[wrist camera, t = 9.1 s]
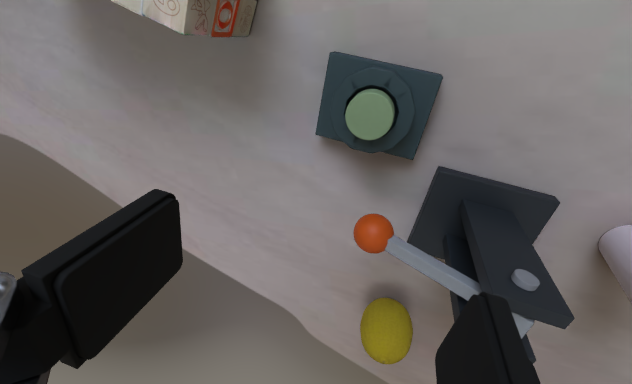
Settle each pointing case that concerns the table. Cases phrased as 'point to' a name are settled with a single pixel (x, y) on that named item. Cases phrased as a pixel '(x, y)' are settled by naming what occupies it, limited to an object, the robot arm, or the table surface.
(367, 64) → the dark piece
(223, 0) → the stack of blocks
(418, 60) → the table surface
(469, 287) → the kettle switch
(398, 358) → the lemon
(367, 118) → the green round button
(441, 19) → the table surface
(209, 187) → the table surface
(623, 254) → the smoothie
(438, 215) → the switch bracket
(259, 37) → the table surface
